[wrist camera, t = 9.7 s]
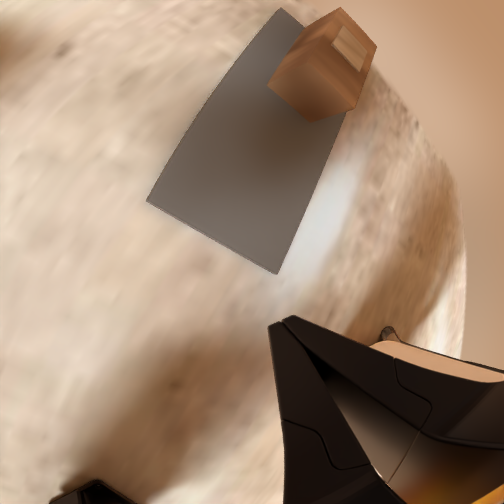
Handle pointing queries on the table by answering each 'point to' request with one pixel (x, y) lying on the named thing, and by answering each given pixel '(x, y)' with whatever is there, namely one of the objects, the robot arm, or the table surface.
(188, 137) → the mat
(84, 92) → the table surface
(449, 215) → the table surface
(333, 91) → the brown rectangular block
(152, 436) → the table surface
